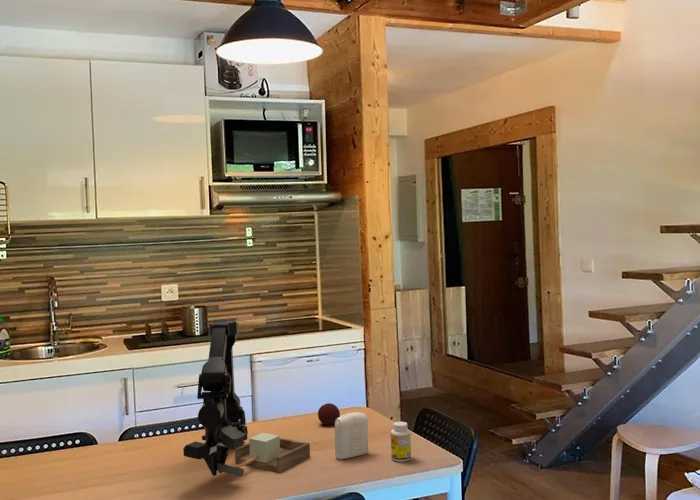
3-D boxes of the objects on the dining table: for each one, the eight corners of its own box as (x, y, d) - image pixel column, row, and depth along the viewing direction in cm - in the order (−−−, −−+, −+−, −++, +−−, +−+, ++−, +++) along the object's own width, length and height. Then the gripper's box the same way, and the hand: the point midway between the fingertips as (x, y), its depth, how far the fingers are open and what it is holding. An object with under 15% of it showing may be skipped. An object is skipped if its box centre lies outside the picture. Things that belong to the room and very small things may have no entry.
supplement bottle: (390, 456, 195) (389, 421, 195) (409, 455, 196) (408, 420, 195) (392, 462, 190) (391, 426, 189) (412, 462, 190) (411, 426, 190)
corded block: (210, 474, 181) (209, 451, 180) (258, 452, 197) (257, 431, 197) (239, 480, 175) (238, 457, 175) (285, 457, 192) (285, 436, 191)
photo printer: (362, 449, 201) (361, 408, 201) (370, 453, 198) (369, 411, 197) (333, 457, 196) (331, 414, 195) (341, 461, 192) (339, 418, 192)
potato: (316, 427, 224) (315, 406, 224) (320, 420, 232) (320, 400, 232) (337, 428, 223) (337, 407, 223) (342, 421, 231) (341, 400, 231)
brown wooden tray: (235, 462, 193) (235, 449, 193) (267, 448, 205) (266, 435, 205) (279, 472, 184) (279, 458, 184) (309, 457, 196) (309, 443, 196)
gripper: (212, 430, 168) (215, 492, 168) (261, 411, 183) (263, 468, 184) (180, 423, 174) (183, 483, 174) (230, 406, 189) (232, 461, 190)
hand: (217, 474), depth 181 cm, fingers closed on corded block, 2 cm apart
